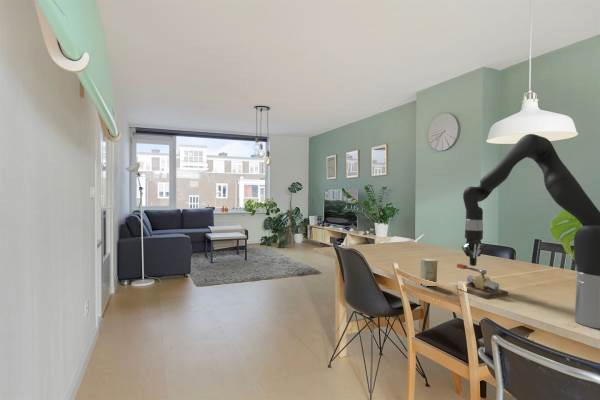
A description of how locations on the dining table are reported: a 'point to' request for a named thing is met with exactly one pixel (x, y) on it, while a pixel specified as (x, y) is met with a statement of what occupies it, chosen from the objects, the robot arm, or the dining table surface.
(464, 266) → the lever
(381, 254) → the dining table surface
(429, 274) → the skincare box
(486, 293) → the mounting board
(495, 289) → the valve
